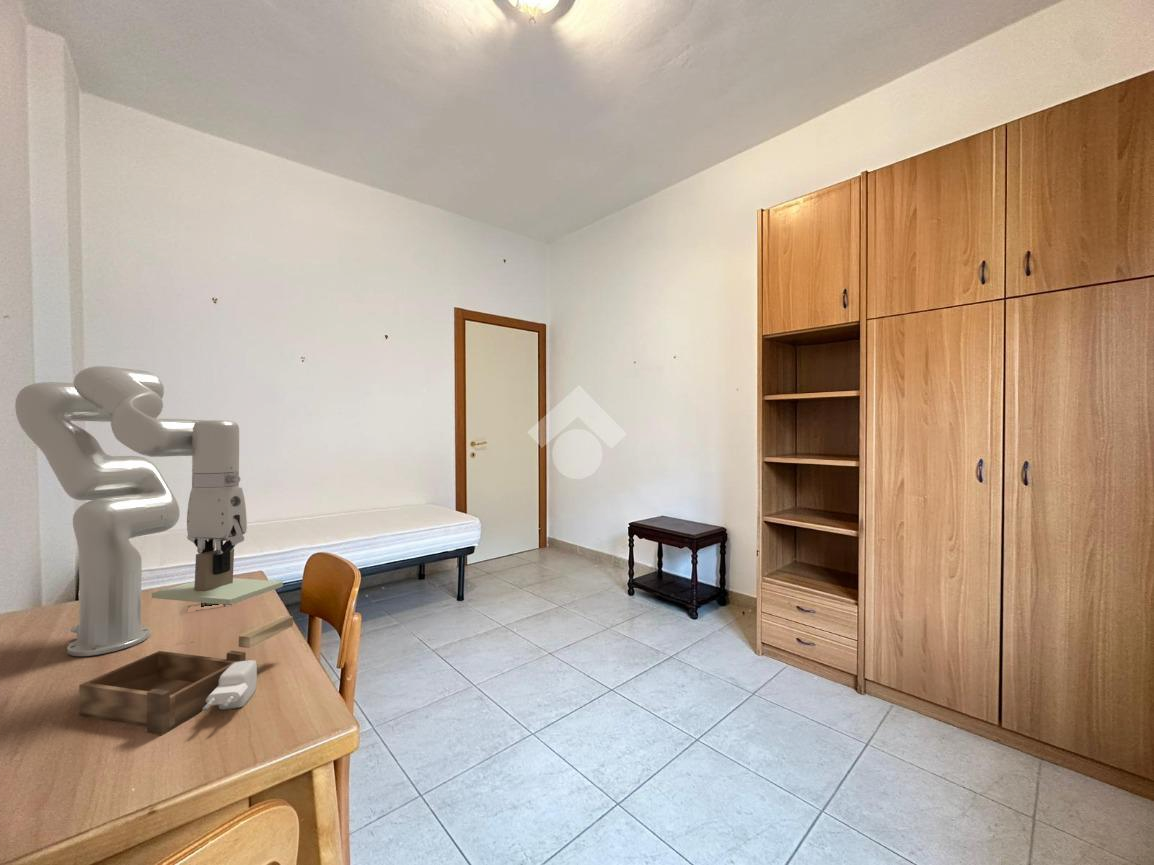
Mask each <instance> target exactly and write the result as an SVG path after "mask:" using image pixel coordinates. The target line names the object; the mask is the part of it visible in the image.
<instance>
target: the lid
mask: <svg viewBox="0 0 1154 865" xmlns="http://www.w3.org/2000/svg"><path fill="white" fill-rule="evenodd" d="M215 554H216V549H215V550H214V551H209V552H205V553H200V554H199V553H196V554H195V564H194V565H195V570H194V581H193V580H192V581H191V582H186V583H183V584H180V585H176V586H172V587H168V588H164V589H160V590H157V591H154V592H151V599H155V600H156V599H158V600H171V601H181V602H189V603H191V602H193V603H195V602H196V603H200V604H201V603H212V604H223V605H230V606H233V605H234V604H237V603H240V602H242V601H245V600H248V599H252V598H254V597H258V596H260V595H262V594H266V593H269V592H272V591H274V590H277V589H280V588H282V587H284V581H278V580H264V579H253V578H252V579H251V578H250V579H249V578H239V577H238V578H237V577H234V563H235V562H234V561H235V560H234V557H235V548H233V551H231V552H230V571H228V572H224V573H221V574H218V575H214V574H213V555H215ZM232 604H233V605H232Z"/></svg>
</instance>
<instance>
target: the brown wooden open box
mask: <svg viewBox="0 0 1154 865" xmlns="http://www.w3.org/2000/svg"><path fill="white" fill-rule="evenodd" d="M246 657H247V656H246V651H237V650H230V651H227V652H226V658H219V657H214V656H213V657H211V656H203V655H195V654H187V653H178V652H172V651H171V652H170V651H163V650H158V651H155V652H154V653H151V654H149V655H147V656H144V657H142V658H140V659H137V660H135V661H133V662H130V663H128V664H125V665H123V666H120V667H117V668H116V669H113V670H111V671H109V672H106V673H104V674H101V675H99V676H97V677H95V678H92V679H90V680H87V681H85V682H83V683H80V684H79V685H78V687H79V688H78V716H79V717H83V718H90V719H94V720H101V721H102V720H103V721H107V722H114V723H119V724H127V725H132V726H138V727H142V728H143V727H144V728H146V733H148V734H154V735H160V736H163V735H165V734H166V733H168V732H170V731H172V730H174V729H176V728H177V727H178V726H180V725H182V724H183V723H185V722H187V721H188V720H190V719H192V718H194V717H195V716H197V715H199V714H200V713H202V712H203V711H202V708H203V707H204V706H205V705H206V704H207V702H206V699H207V697H208V696H209V695H210V694H211V693H212V692H213V691H214V690H215V689H216V687H217V686H218V685H219V679H220V676H221V675H222V673H223V672H224V671H225V670H226V669H227V668H228V667H229V666H230V665H231V664H233V663H234V662H239V661H246ZM212 706H213V705H211V706H210V707H209V708H211V707H212Z"/></svg>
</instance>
